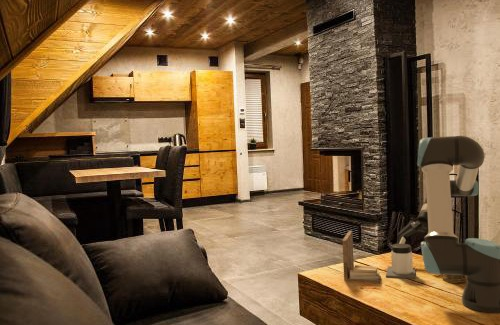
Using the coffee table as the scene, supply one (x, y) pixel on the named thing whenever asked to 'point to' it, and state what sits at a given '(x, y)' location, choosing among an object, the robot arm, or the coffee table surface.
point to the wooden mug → (454, 278)
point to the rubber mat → (394, 275)
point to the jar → (402, 259)
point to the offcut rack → (358, 271)
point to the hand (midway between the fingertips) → (412, 252)
